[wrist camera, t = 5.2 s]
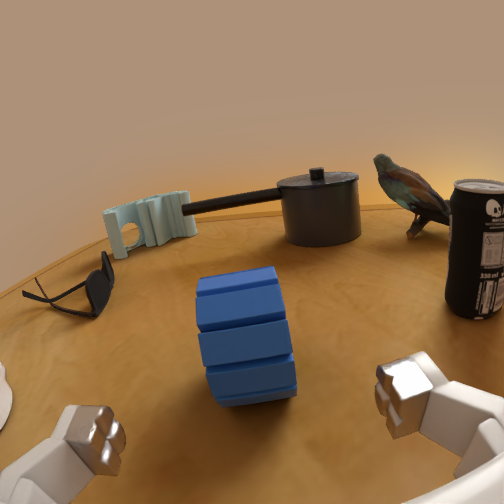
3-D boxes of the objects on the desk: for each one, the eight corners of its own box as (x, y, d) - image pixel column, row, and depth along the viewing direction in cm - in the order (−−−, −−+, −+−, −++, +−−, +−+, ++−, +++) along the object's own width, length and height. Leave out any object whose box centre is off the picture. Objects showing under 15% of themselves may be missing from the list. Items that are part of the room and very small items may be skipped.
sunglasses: (51, 289, 50) (42, 264, 48) (120, 271, 53) (112, 244, 51) (19, 335, 34) (5, 303, 33) (106, 316, 37) (93, 281, 36)
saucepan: (188, 271, 48) (171, 198, 44) (197, 244, 61) (184, 186, 57) (375, 238, 48) (371, 167, 44) (347, 218, 61) (341, 161, 57)
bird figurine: (493, 229, 40) (434, 120, 43) (478, 250, 35) (409, 121, 38) (435, 255, 52) (384, 159, 54) (411, 277, 47) (353, 167, 49)
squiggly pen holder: (179, 228, 75) (171, 190, 72) (199, 233, 67) (190, 190, 64) (109, 253, 65) (97, 212, 62) (119, 262, 58) (106, 215, 55)
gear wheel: (225, 432, 19) (189, 322, 16) (226, 354, 27) (202, 260, 24) (300, 421, 19) (287, 306, 16) (282, 345, 27) (268, 248, 24)
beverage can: (450, 285, 30) (454, 176, 26) (502, 294, 26) (513, 181, 22) (437, 316, 26) (444, 187, 22) (499, 327, 22) (517, 194, 18)
